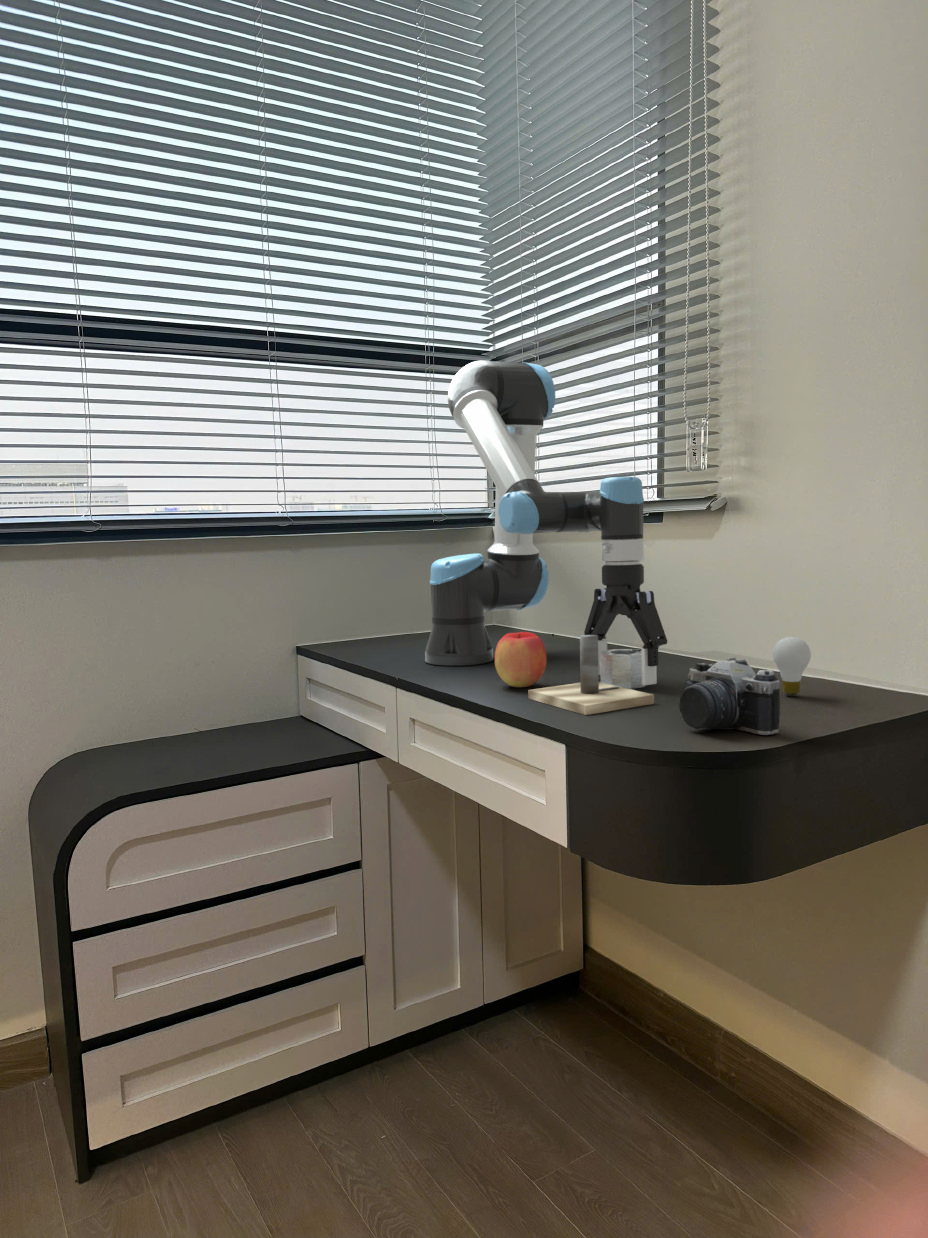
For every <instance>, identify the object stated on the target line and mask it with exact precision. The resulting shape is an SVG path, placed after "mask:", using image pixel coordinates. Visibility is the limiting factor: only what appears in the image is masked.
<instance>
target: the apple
mask: <svg viewBox="0 0 928 1238" xmlns="http://www.w3.org/2000/svg"><path fill="white" fill-rule="evenodd" d="M547 659H548V658H547V651H546V646H545V643H544V642H543V640H542V638H541V637H539V636H538V635H537V634H536V633H533V632H527V631H520V632H518V631H517V632H508V633H506V634H505V635H503V636H502V637H501V638H500V640H498V642H497V644H496V647H495V651H494V666H495V667H494V668H495V670H496V672H497V674H498V677H500V678H501V680H502V681H503V682H504V683H506V684H507V685H508V686H510V687H513V688H526V687H527V688H528V687H531V686H532V685H534V684H535V683H537V682H539V680H541V678H542V677H543V675H544V673H545V670H546V668H547V662H548V660H547Z"/></svg>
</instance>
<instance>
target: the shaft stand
mask: <svg viewBox="0 0 928 1238" xmlns="http://www.w3.org/2000/svg"><path fill="white" fill-rule="evenodd" d="M579 665H580V666H579V669H580V671H579V672H580V673H579V674H580V678H579V679H580V680H579V681H580V682H574V683H570V684H569V683H568V684H561V685H553V686H546V687H542V688H541V687H540V688H534V689H528V690H527V691H528V693H527V694H528V697H527V698H528V700H532V701H536V702H539V703H543V704H546V705H550V706H552V707H553V706H554V707H557V708H559V709H563V710H567V711H570V712H574V713H578V714H579V715H580V714H581V715H584V716H588V715H593V714H600V713H601V714H602V713H606V712H612V711H618V710H624V709H630V708H636V707H637V708H638V707H642V706H643V707H644V706H648V705H654V704H655V694H653V693H648V692H644V691H640V690H635V689H627V688H622V687H618V686H614V685H609V684H605V683H601V681H599V675H598V636H597V635H585V634H583V635H580V636H579Z"/></svg>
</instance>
